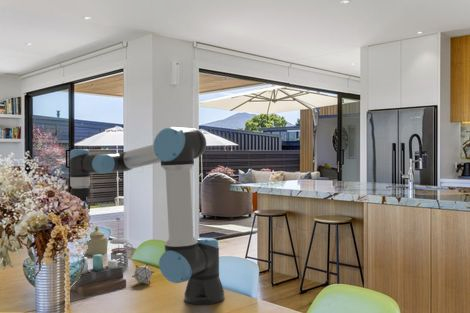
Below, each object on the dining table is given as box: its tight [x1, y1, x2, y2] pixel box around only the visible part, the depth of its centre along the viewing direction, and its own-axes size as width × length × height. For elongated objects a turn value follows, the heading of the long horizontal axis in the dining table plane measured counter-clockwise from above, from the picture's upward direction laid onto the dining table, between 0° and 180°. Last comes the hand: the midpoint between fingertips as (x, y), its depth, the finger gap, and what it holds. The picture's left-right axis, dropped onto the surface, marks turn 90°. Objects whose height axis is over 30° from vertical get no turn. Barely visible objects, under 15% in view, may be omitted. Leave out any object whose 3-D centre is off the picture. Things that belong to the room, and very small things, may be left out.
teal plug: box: [92, 254, 104, 271], centre depth 193 cm, size 4×4×6 cm
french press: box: [109, 217, 134, 273], centre depth 221 cm, size 10×12×25 cm
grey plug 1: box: [82, 256, 89, 274], centre depth 189 cm, size 4×4×6 cm
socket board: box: [70, 265, 127, 297], centre depth 193 cm, size 14×19×8 cm
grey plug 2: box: [107, 259, 118, 269], centre depth 197 cm, size 4×4×6 cm
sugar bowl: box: [86, 226, 108, 256], centre depth 260 cm, size 15×11×15 cm
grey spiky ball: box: [131, 263, 155, 286], centre depth 198 cm, size 9×8×10 cm
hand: (81, 245), depth 189 cm, fingers closed
